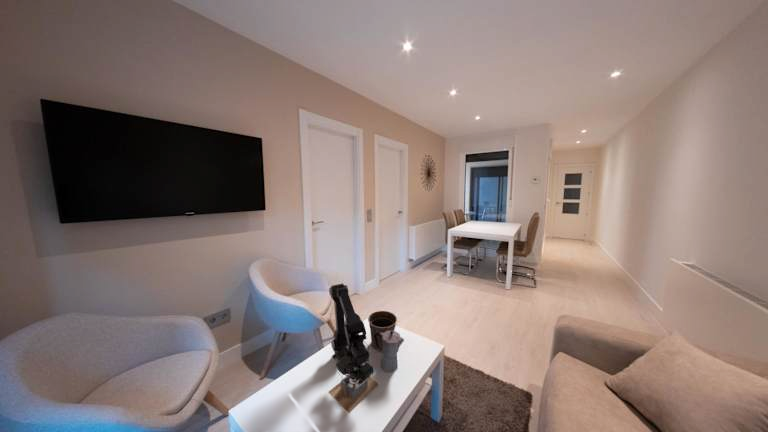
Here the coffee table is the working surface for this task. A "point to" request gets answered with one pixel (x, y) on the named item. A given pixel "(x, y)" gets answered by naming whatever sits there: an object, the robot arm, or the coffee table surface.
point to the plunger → (353, 381)
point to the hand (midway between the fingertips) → (354, 378)
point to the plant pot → (381, 326)
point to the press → (349, 391)
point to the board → (346, 400)
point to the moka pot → (389, 349)
